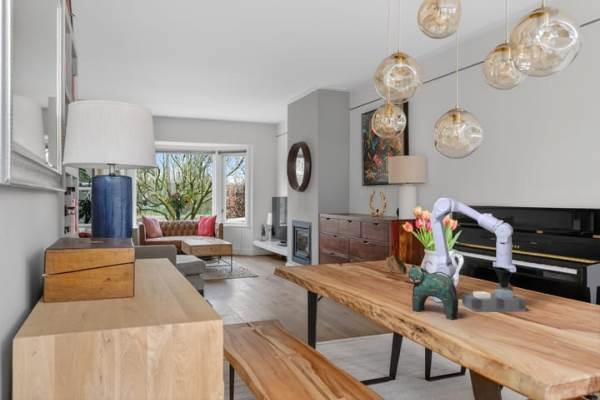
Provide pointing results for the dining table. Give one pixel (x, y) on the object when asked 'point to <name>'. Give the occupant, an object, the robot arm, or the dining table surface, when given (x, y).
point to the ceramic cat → (433, 290)
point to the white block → (481, 295)
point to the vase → (505, 288)
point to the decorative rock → (395, 264)
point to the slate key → (503, 293)
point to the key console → (494, 303)
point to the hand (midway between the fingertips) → (504, 287)
